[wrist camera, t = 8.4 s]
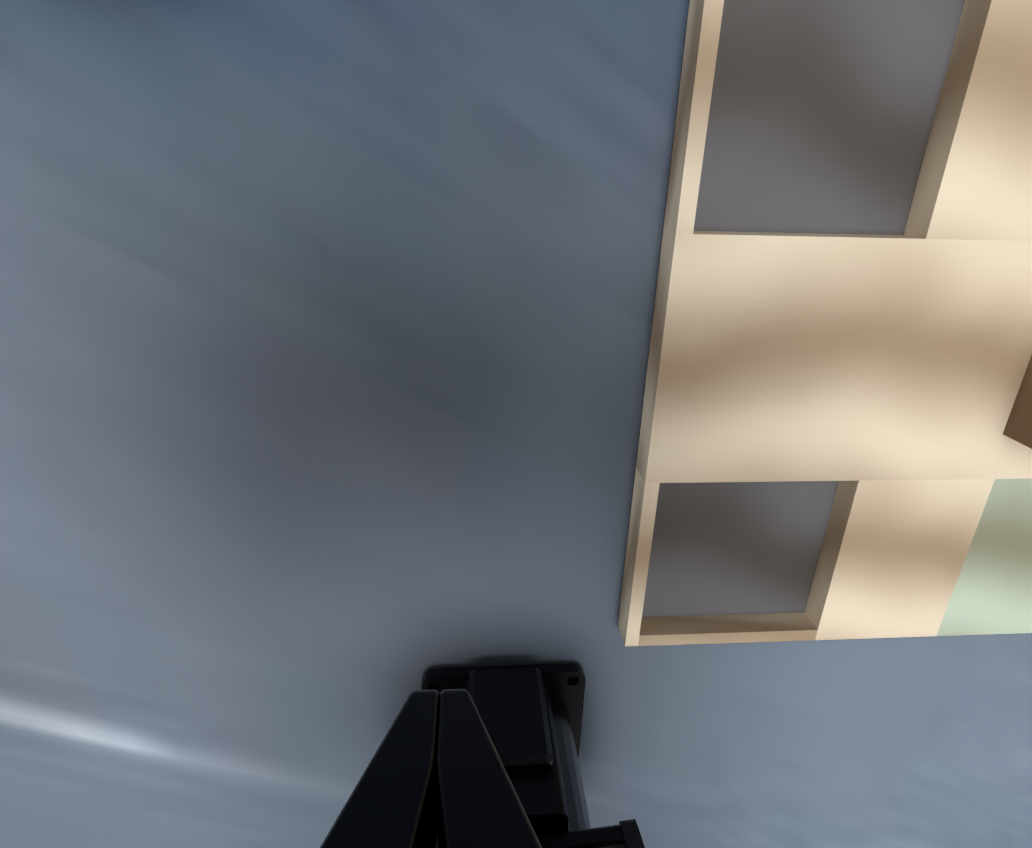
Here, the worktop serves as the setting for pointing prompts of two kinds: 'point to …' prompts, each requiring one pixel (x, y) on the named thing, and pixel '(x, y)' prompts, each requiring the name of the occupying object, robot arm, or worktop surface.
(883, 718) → the worktop surface
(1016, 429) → the walnut block
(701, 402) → the trap board
